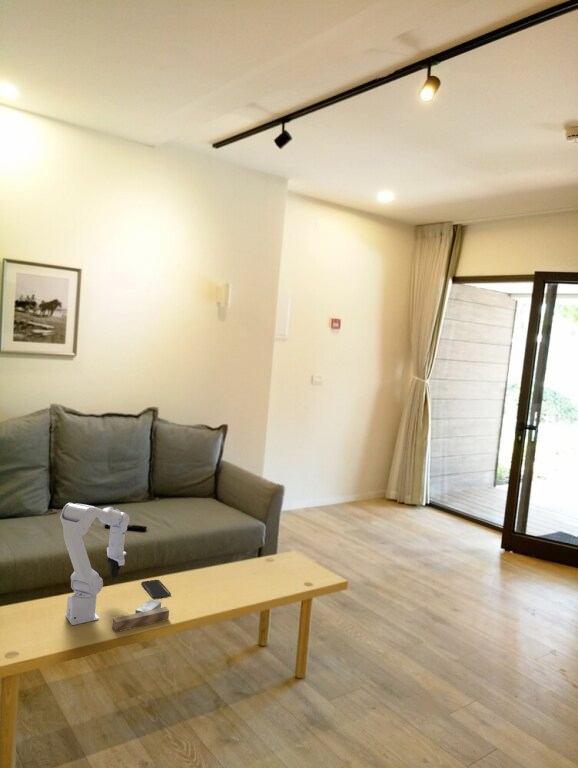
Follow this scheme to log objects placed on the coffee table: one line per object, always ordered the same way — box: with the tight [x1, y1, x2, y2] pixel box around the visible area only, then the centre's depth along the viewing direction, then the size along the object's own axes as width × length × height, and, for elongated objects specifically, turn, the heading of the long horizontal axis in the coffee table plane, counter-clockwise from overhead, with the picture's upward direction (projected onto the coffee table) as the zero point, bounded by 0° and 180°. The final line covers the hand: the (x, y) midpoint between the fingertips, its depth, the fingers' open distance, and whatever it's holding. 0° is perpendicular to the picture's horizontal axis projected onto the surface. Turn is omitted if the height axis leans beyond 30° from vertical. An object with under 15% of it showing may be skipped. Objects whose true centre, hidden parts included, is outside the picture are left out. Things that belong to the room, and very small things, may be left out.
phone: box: [140, 579, 172, 600], centre depth 227 cm, size 8×1×15 cm
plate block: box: [134, 598, 162, 614], centre depth 208 cm, size 10×5×3 cm, turn 164°
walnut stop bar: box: [111, 606, 170, 633], centre depth 199 cm, size 20×3×4 cm, turn 128°
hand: (113, 576), depth 214 cm, fingers closed
